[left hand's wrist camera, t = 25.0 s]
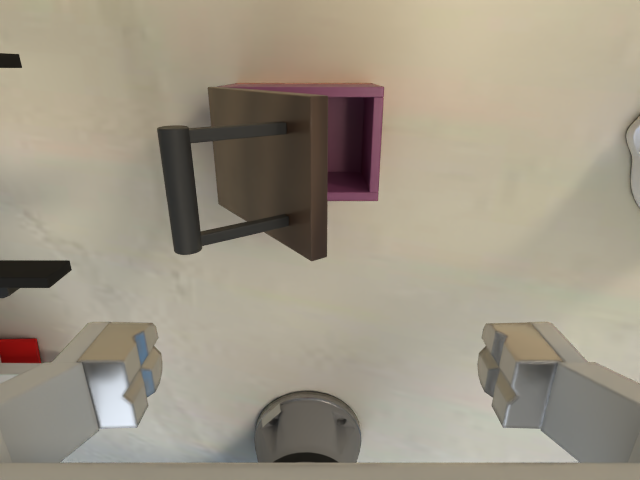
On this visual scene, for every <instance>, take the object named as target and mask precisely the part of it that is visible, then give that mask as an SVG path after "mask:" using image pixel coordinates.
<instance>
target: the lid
mask: <svg viewBox="0 0 640 480" xmlns="http://www.w3.org/2000/svg"><path fill="white" fill-rule="evenodd" d="M208 95H209V106H210V117H211V127H201V128H188V127H187V126H163V127H159V128H157V131H158V138H159V146H160V153H161V160H162V167H163V174H164V181H165V188H166V196H167V203H168V210H169V217H170V224H171V231H172V238H173V245H174V251H175V253H177V254H181V255H189V254H194V253H197V252H199V251H201V249H202V246H204V245H209V244H213V243H217V242H222V241H226V240H230V239H235V238H239V237H243V236H248V235H252V234H256V233H261V232H265V233H266V234H268V235H270V236H271V237H273V238H275V239H276V240H278V241H279V242H281V243H283V244H284V245H286V246H288V247H289V248H291V249H292V250H294V251H296V252H297V253H299V254H301V255H302V256H304V257H305V258H307V259H309V260H310V261H314V260H317V259H321V258H324V257H327V180H328V96H327V95H316V94H303V93H291V92H279V91H266V90H254V89H241V88H229V87H208ZM208 141H213V149H214V160H215V170H216V181H217V192H218V203H219V205H221V206H223V207H224V208H226V209H228V210H229V211H231V212H232V213H234V214H236V215H237V216H239V217H241V218H242V219H244V220H245V221H247V222H244V223H239V224H234V225H230V226H225V227H220V228H215V229H211V230H206V231H201V232H200V223H199V214H198V205H197V197H196V188H195V179H194V170H193V161H192V152H191V143H198V142H208Z"/></svg>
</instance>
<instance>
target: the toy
mask: <svg viewBox="0 0 640 480" xmlns="http://www.w3.org/2000/svg"><path fill="white" fill-rule="evenodd" d="M40 364H43V363H41V359H40V354H39V348H38V343H37V339H0V383H3V382H5V381H7V380H9V379H11V378H13V377H15V376H17V375H19V374H21V373H24V372H26V371H28V370H30V369H32V368H34V367H36V366H38V365H40Z"/></svg>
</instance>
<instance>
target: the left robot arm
mask: <svg viewBox="0 0 640 480" xmlns="http://www.w3.org/2000/svg"><path fill="white" fill-rule="evenodd" d="M626 139H627V144H628V147H629V150H630V152H631V155H632V169H631V188H632V193H633V196H634V199H635V201H636V203H637V204H638V206H639V207H640V116H639V117H638V118H637V119H636V120H635V121H634V122H633V124H632V125H631V126H630V127H629V129H628V130H627V134H626ZM157 339H158V334H157V329H156V326H155V325H154V324H153V323H133V322H92V323H88V324H87V325H86V326H85V327H84V328H83V329H82V330H81V331H80V332H79V333H78V334H77V336H76V337H75V338H74V339H73V340H72V341H71V342H70V343H69V344H68V345H67V346H66V347H65V348H64V350H63V351H62V352H61V353H60V354H59V355H58V356H57V357H56V358H55V359H54V360H53V361H52V362H45V363H43V364H40V365H38V366H36V367H34V368H32V369H30V370H28V371H26V372H24V373H21V374H19V375H17V376H15V377H13V378H11V379H9V380H7V381H5V382H3V383H0V480H640V384H639V383H637V382H635V381H633V380H631V379H629V378H627V377H625V376H623V375H621V374H618V373H616V372H614V371H612V370H610V369H608V368H606V367H604V366H602V365H600V364H598V363H595V362H588V361H587V360H586V359H585V358H584V357H583V356H582V355H581V354H580V353H579V352H578V351H577V349H576V348H575V347H574V346H573V345H572V344H571V343H570V342H569V341H568V340H567V339H566V338H565V337H564V335H563V334H562V333H561V332H560V331H559V330H558V329H557V328H556V327H555V326H554V325H553V324H552V323H549V322H527V323H489V324H486V325H485V327H484V329H483V333H482V339H483V341H484V343H485V345H486V347H485V348H484V349H483V350H482V351H481V352H480V353H479V357H478V376H479V379H480V383H481V385H482V387H483V390H484V392H486V393H487V394H489V395H490V396H491V397H493V401H492V407H493V409H494V411H495V413H496V415H497V417H498V419H499V421H500V423H501V424H502V426H503V428H538V429H541V431H542V432H543V433H545V434H546V435H547V436H548V437H550V438H551V439H552V440H553V441H554V442H556V443H557V444H558V445H559V446H561V447H562V448H563V449H564V450H566V451H567V452H568V453H569V454H570V455H572V456H573V457H574V458H575V459H577V460H578V461H579V462H580V463H60V462H61V461H62V460H64V459H65V458H66V457H67V456H68V455H70V454H71V453H72V452H73V451H75V450H76V449H77V448H78V447H80V446H81V445H82V444H83V443H84V442H86V441H87V440H88V439H89V438H91V437H92V436H93V435H94V434H96V433H97V432H98V431H99V429H102V428H137V426H138V425H139V423H140V421H141V419H142V417H143V415H144V413H145V411H146V409H147V407H148V401H147V397H149V396H150V395H151V394H153V393H154V392H156V390H157V387H158V385H159V383H160V379H161V375H162V356H161V353H160V352H159V351H158V350H157V349H156V348H155V347H154V345H155V343H156V341H157Z"/></svg>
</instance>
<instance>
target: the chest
mask: <svg viewBox="0 0 640 480" xmlns="http://www.w3.org/2000/svg"><path fill="white" fill-rule="evenodd" d="M219 87H229V88H241V89H254V90H266V91H279V92H291V93H303V94H316V95H327V96H328V180H327V201H378V190H379V172H380V153H381V135H382V117H383V99H384V98H383V97H384V87H382V86H378V85H375V84H372V83H235V84H230V85H225V86H219Z"/></svg>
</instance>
